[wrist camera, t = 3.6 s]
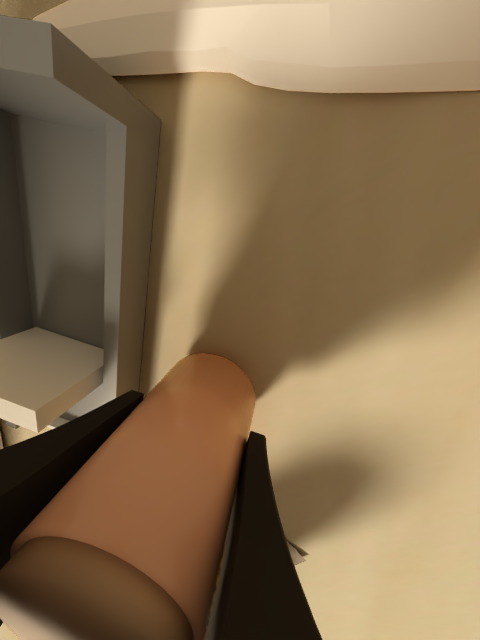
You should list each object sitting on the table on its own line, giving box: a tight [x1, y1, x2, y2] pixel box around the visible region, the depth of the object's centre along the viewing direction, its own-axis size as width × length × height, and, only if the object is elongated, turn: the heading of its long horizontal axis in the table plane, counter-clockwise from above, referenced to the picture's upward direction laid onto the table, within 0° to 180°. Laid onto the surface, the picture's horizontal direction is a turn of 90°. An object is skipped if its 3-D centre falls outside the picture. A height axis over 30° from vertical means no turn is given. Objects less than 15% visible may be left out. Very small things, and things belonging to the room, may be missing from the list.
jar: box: [0, 353, 256, 640], centre depth 9 cm, size 5×5×9 cm
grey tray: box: [0, 15, 161, 429], centre depth 12 cm, size 19×8×5 cm, turn 167°
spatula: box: [32, 0, 480, 93], centre depth 8 cm, size 28×4×2 cm, turn 85°
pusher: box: [0, 327, 104, 433], centre depth 12 cm, size 1×6×6 cm, turn 77°
